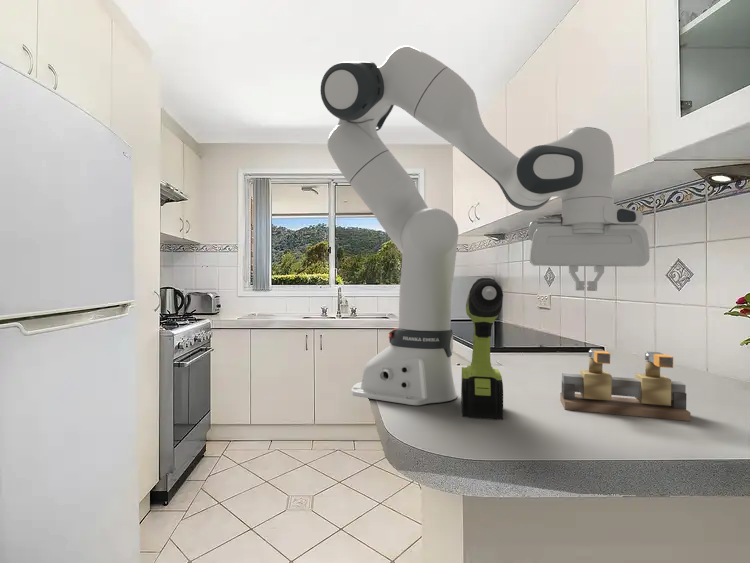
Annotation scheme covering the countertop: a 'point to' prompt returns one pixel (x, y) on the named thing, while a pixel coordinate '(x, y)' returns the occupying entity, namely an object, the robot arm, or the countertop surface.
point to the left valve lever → (600, 356)
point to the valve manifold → (625, 393)
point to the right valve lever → (659, 359)
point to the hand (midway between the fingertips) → (585, 290)
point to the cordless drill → (482, 354)
